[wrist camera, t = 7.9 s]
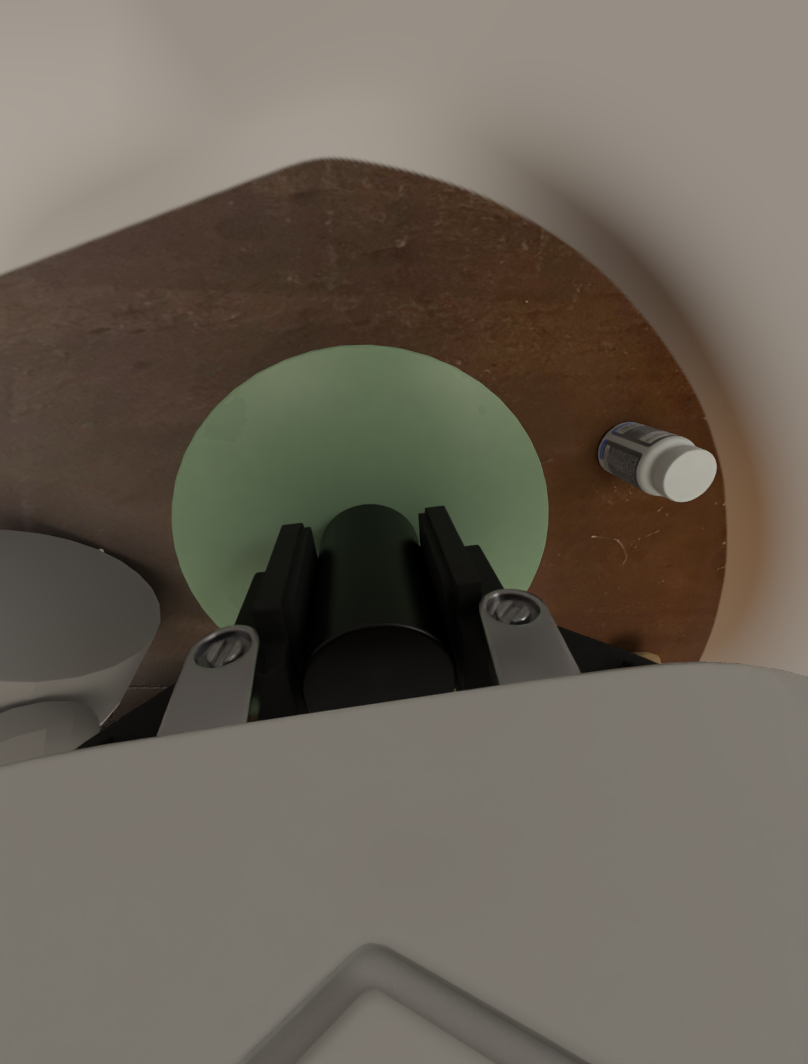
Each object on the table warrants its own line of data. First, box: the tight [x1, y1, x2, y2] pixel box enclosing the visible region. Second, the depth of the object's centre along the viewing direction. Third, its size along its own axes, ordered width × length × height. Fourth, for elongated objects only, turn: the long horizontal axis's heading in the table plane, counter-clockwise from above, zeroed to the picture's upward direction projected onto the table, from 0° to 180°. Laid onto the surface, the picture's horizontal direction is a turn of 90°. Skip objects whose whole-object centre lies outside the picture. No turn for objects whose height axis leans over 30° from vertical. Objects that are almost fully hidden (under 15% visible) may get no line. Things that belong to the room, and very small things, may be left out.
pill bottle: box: [598, 422, 717, 502], centre depth 33 cm, size 5×5×8 cm
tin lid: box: [172, 345, 548, 713], centre depth 11 cm, size 11×11×7 cm
